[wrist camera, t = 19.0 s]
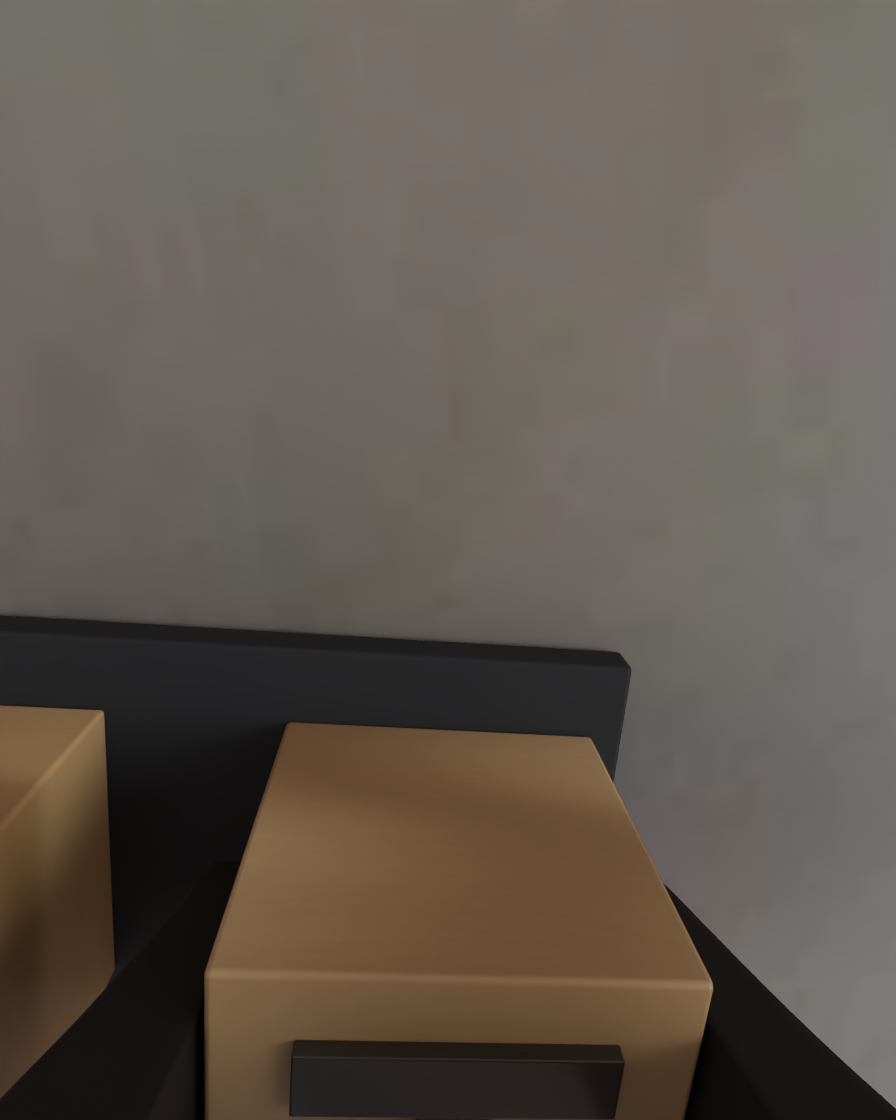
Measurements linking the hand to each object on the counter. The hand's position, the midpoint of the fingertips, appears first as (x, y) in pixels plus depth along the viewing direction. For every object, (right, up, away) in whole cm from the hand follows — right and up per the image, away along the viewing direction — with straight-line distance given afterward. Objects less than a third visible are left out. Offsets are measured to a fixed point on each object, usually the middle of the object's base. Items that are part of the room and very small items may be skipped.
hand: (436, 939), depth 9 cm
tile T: (0, 0, +1) cm, 1 cm away
